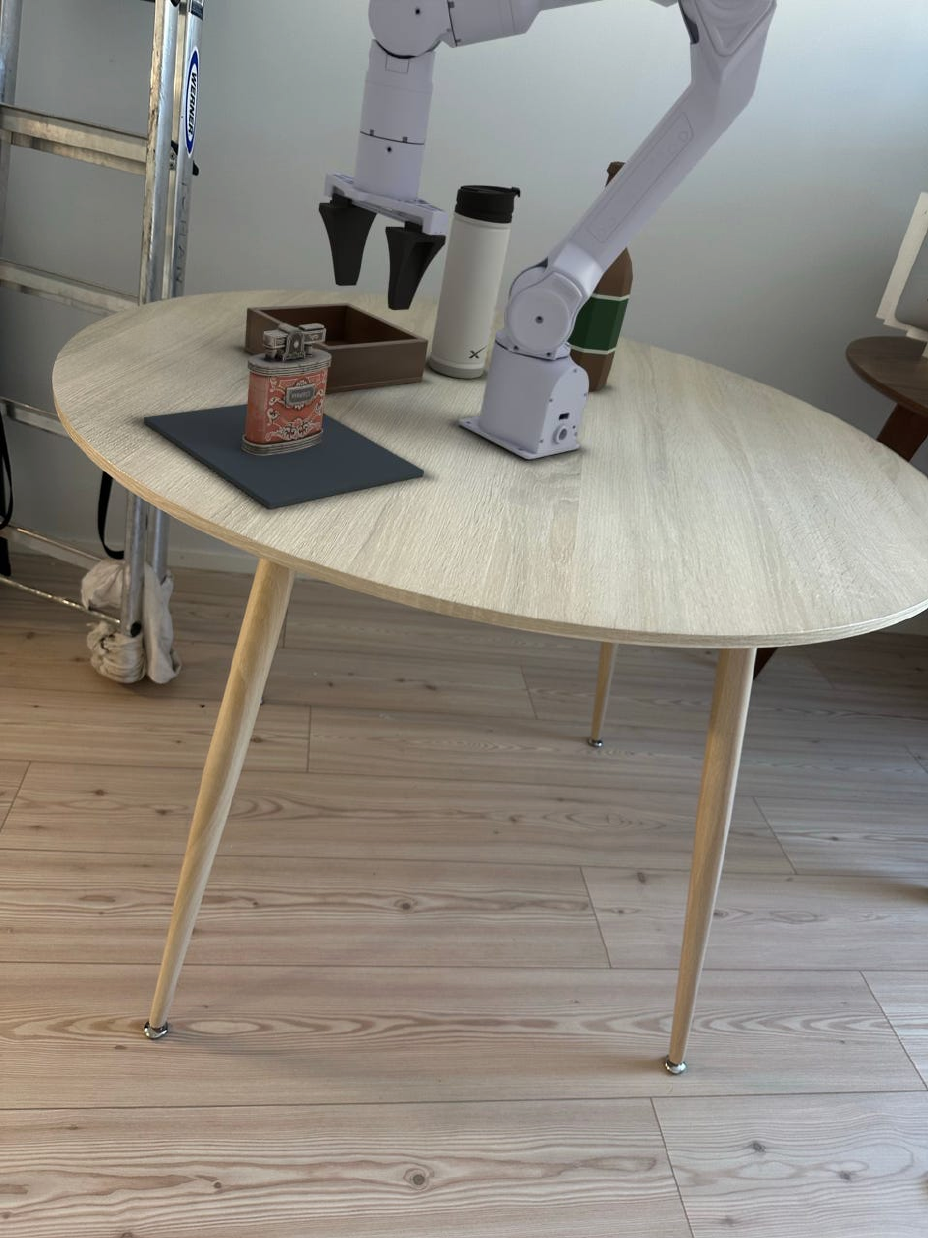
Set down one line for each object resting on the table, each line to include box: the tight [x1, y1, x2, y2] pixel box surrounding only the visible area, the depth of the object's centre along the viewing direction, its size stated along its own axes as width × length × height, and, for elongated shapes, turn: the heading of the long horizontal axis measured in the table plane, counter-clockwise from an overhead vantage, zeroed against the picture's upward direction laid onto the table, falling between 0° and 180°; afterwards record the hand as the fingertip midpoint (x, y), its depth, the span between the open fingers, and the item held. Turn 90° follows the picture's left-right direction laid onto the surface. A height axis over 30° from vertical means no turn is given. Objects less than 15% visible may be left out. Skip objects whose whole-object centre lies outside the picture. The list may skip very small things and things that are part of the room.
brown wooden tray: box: [243, 302, 429, 394], centre depth 105 cm, size 14×14×4 cm
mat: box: [143, 403, 425, 510], centre depth 84 cm, size 18×16×1 cm
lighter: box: [242, 323, 331, 455], centre depth 81 cm, size 8×3×10 cm, turn 141°
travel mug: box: [428, 184, 521, 380], centre depth 108 cm, size 6×7×20 cm
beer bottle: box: [566, 160, 634, 392], centre depth 112 cm, size 8×8×24 cm
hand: (371, 296), depth 92 cm, fingers open, 7 cm apart
